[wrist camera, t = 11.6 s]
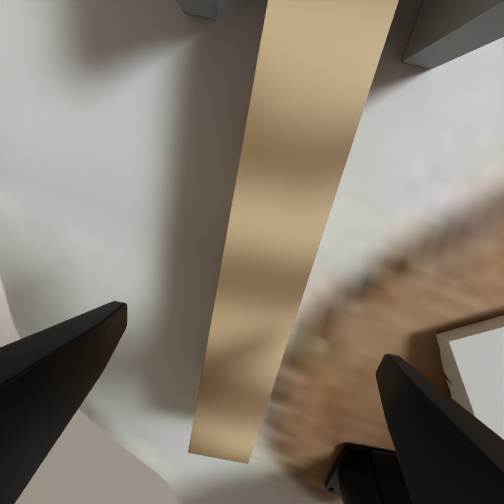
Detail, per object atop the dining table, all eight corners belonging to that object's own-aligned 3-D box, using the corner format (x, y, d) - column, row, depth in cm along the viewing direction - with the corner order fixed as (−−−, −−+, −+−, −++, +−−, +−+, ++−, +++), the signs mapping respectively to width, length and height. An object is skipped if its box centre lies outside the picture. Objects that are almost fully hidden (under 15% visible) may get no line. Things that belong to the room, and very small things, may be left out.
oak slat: (251, 396, 22) (248, 463, 17) (204, 387, 22) (188, 452, 17) (365, 1, 12) (426, -86, 8) (280, -20, 12) (289, -121, 7)
